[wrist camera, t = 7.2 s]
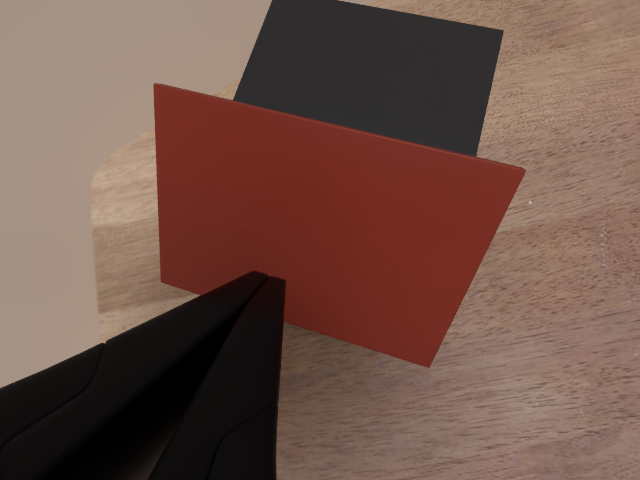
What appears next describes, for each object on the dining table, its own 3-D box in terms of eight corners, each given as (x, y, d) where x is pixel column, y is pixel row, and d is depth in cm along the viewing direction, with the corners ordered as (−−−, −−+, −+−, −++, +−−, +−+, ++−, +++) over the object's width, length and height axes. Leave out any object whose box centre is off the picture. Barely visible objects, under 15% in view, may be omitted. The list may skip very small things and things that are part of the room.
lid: (428, 361, 12) (429, 368, 11) (166, 278, 13) (160, 282, 13) (522, 167, 8) (527, 170, 8) (160, 83, 10) (152, 83, 9)
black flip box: (391, 340, 20) (431, 367, 11) (235, 291, 22) (159, 281, 13) (441, 137, 23) (505, 28, 14) (300, 105, 24) (275, -13, 15)
